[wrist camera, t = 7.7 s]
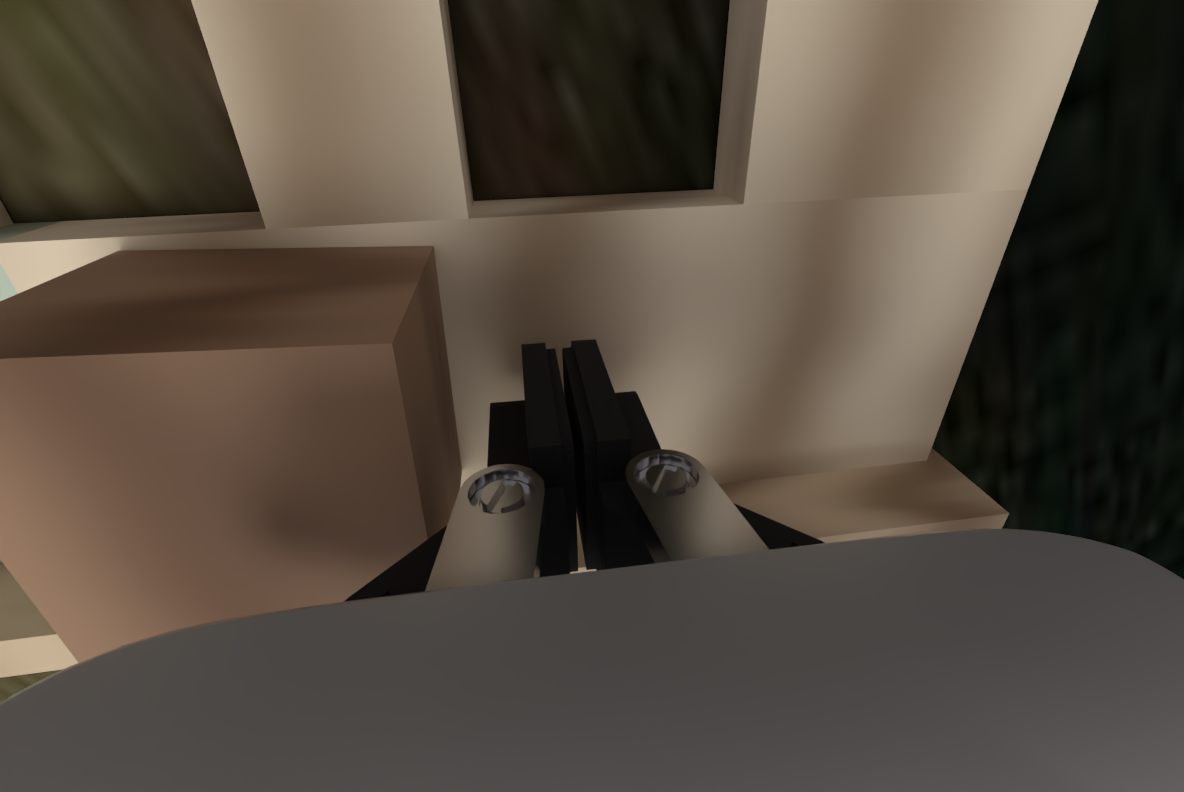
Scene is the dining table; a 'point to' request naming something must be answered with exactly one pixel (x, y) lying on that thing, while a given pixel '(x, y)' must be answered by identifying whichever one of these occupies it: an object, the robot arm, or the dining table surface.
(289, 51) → the trap tray
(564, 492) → the robot arm
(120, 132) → the dining table surface
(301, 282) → the walnut block
